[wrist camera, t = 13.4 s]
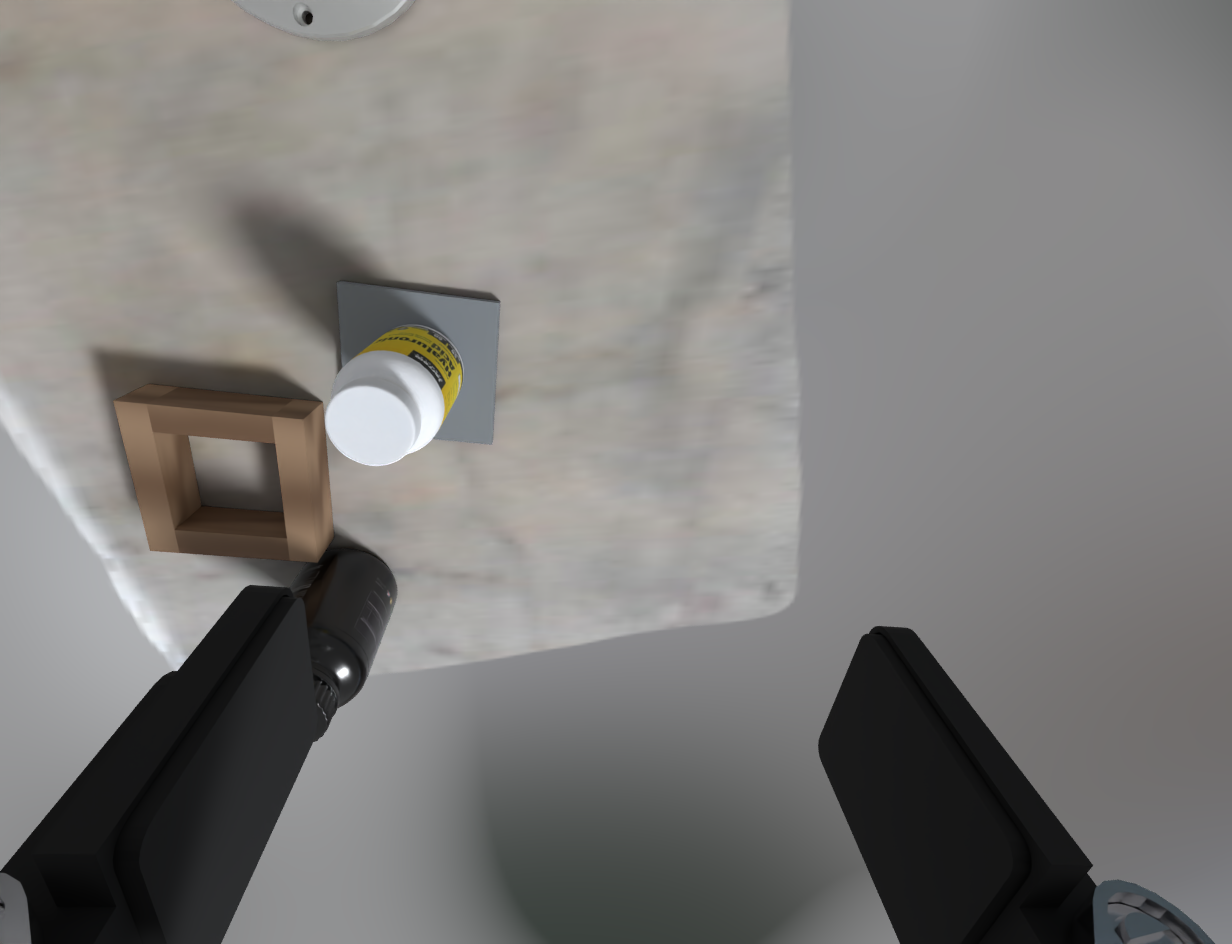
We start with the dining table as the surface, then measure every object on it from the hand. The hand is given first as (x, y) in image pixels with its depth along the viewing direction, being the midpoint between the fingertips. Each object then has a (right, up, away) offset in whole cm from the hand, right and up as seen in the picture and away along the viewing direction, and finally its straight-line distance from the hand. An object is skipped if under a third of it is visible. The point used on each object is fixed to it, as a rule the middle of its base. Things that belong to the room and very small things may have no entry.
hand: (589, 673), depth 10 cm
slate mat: (-11, +10, +26) cm, 30 cm away
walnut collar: (-23, +4, +28) cm, 37 cm away
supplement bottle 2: (-19, -5, +33) cm, 38 cm away
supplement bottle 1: (-11, +10, +25) cm, 30 cm away
